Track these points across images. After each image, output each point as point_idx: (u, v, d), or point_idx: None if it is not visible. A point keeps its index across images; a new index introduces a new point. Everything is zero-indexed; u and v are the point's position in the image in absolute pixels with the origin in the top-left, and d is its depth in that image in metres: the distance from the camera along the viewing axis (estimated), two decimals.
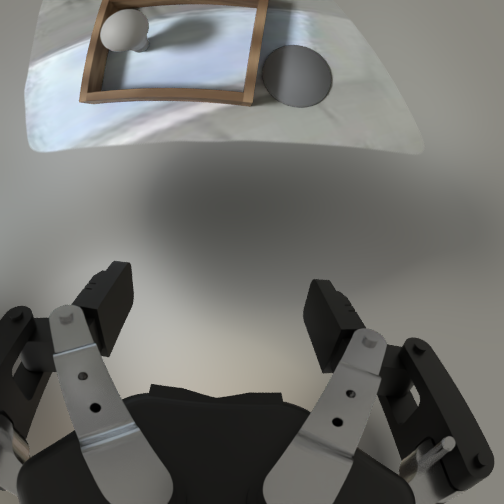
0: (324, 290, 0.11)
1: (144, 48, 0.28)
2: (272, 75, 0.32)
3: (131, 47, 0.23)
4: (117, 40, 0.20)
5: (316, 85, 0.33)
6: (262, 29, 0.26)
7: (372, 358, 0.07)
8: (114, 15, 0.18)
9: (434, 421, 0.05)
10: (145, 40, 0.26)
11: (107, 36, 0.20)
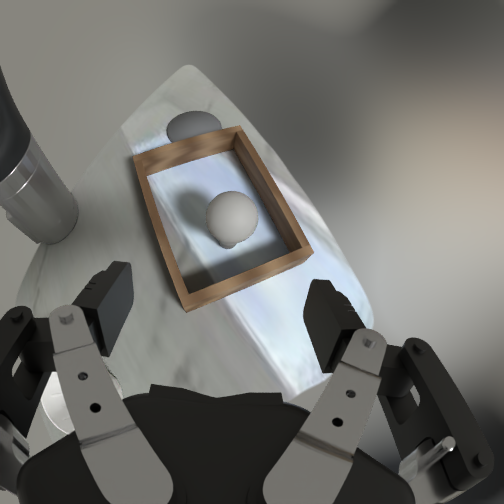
0: (324, 290, 0.11)
1: None
2: None
3: None
4: (250, 200, 0.31)
5: (194, 117, 0.46)
6: (176, 142, 0.39)
7: (372, 358, 0.07)
8: (224, 215, 0.29)
9: (434, 421, 0.05)
10: None
11: (250, 209, 0.30)
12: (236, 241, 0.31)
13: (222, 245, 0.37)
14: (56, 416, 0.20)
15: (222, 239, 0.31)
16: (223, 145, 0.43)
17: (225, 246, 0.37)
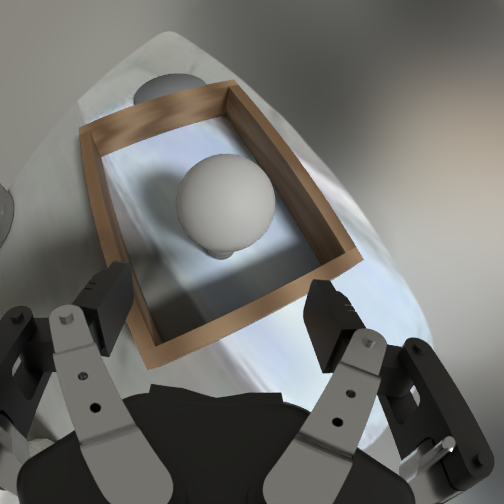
0: (324, 290, 0.11)
1: None
2: None
3: None
4: (259, 168, 0.16)
5: (172, 80, 0.31)
6: (141, 103, 0.24)
7: (372, 358, 0.07)
8: (210, 195, 0.14)
9: (434, 421, 0.05)
10: None
11: (262, 183, 0.15)
12: (236, 248, 0.16)
13: (212, 254, 0.22)
14: None
15: (209, 245, 0.16)
16: (210, 108, 0.28)
17: (217, 255, 0.22)
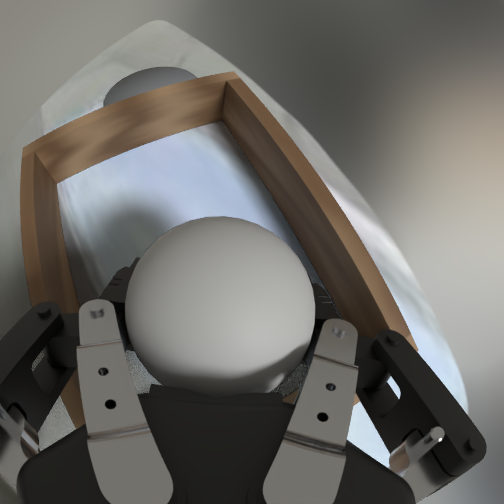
0: None
1: None
2: None
3: None
4: (289, 253, 0.08)
5: (154, 75, 0.23)
6: (102, 108, 0.16)
7: (340, 347, 0.07)
8: (183, 345, 0.06)
9: (418, 412, 0.05)
10: None
11: (298, 300, 0.07)
12: None
13: None
14: None
15: None
16: (201, 111, 0.20)
17: None
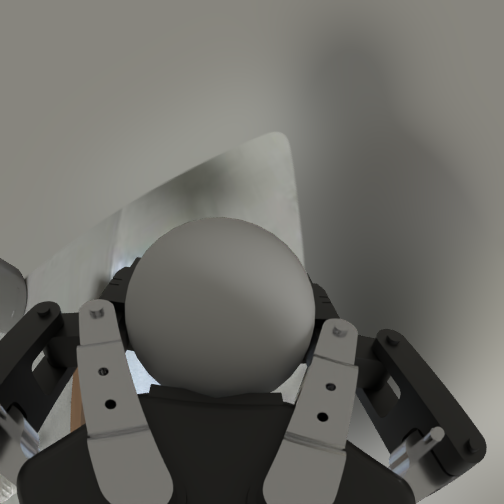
0: None
1: None
2: None
3: None
4: (289, 255, 0.08)
5: None
6: None
7: (340, 347, 0.07)
8: (183, 347, 0.06)
9: (418, 412, 0.05)
10: None
11: (297, 302, 0.07)
12: None
13: None
14: None
15: None
16: None
17: None
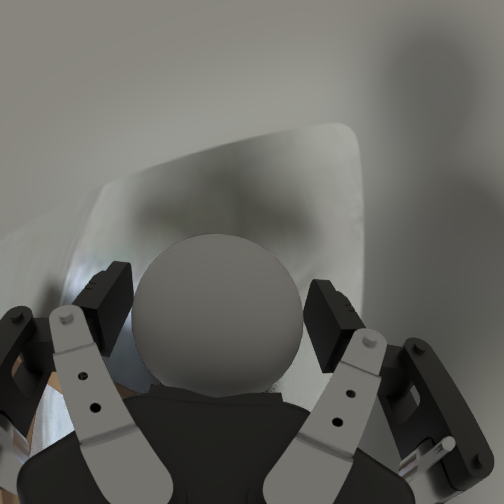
0: (324, 290, 0.11)
1: None
2: None
3: None
4: (277, 268, 0.08)
5: None
6: None
7: (372, 358, 0.07)
8: (182, 352, 0.07)
9: (434, 421, 0.05)
10: None
11: (284, 312, 0.08)
12: None
13: None
14: None
15: None
16: None
17: None
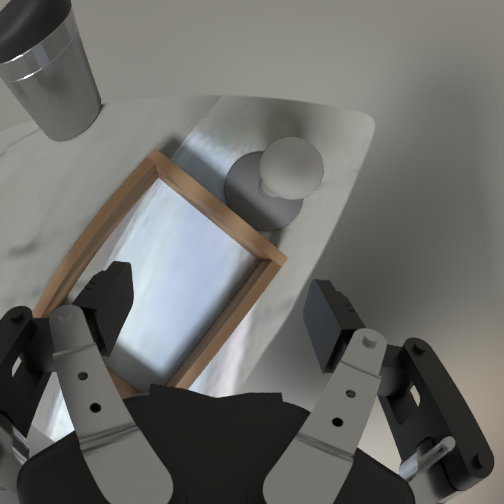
0: (324, 290, 0.11)
1: None
2: (253, 215, 0.32)
3: None
4: (321, 157, 0.24)
5: None
6: (205, 191, 0.27)
7: (372, 358, 0.07)
8: (290, 164, 0.22)
9: (434, 421, 0.05)
10: None
11: (320, 168, 0.23)
12: (289, 198, 0.25)
13: (262, 193, 0.31)
14: None
15: (275, 190, 0.24)
16: (250, 249, 0.30)
17: (265, 195, 0.31)
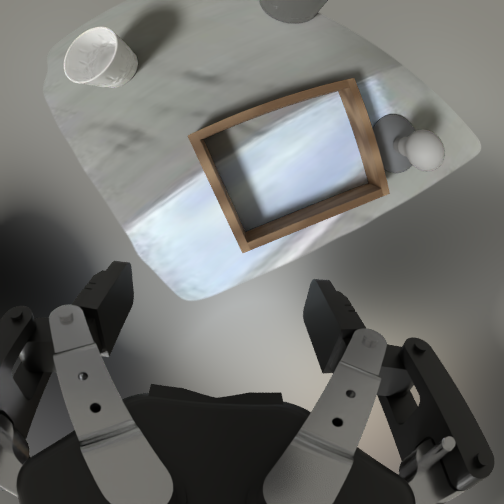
0: (324, 290, 0.11)
1: None
2: (381, 154, 0.38)
3: None
4: None
5: None
6: (370, 124, 0.33)
7: (372, 358, 0.07)
8: (429, 151, 0.28)
9: (434, 421, 0.05)
10: None
11: (440, 163, 0.29)
12: (414, 165, 0.32)
13: (395, 145, 0.36)
14: (80, 44, 0.21)
15: (410, 156, 0.31)
16: (370, 173, 0.38)
17: (396, 148, 0.36)
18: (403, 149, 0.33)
